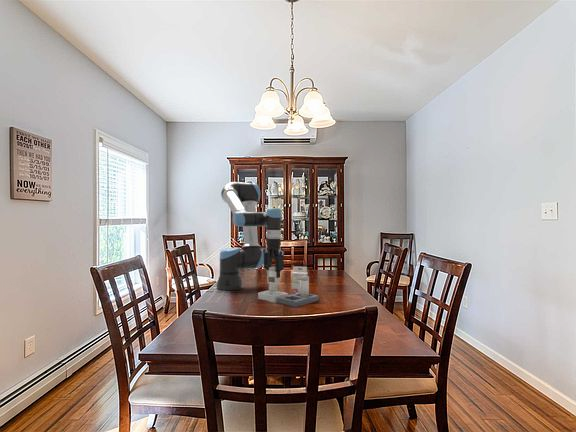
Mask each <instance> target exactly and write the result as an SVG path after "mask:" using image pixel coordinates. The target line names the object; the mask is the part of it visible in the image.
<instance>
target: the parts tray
mask: <svg viewBox="0 0 576 432" xmlns="http://www.w3.org/2000/svg"><path fill="white" fill-rule="evenodd" d="M285 295H286V296H287V295H289V293H288V292H284V291H279V290H278V291H269V290H264V291H260V292H257V299H258V300H262V301H265V300H266V302H269V303H277V298H278V297H282V296H285Z"/></svg>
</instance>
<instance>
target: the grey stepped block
mask: <svg viewBox="0 0 576 432" xmlns="http://www.w3.org/2000/svg"><path fill="white" fill-rule="evenodd" d="M308 275H309V273H308V266H294V265H293V268H292V273H291V294H295V293H299V292H300V276H308Z"/></svg>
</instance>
